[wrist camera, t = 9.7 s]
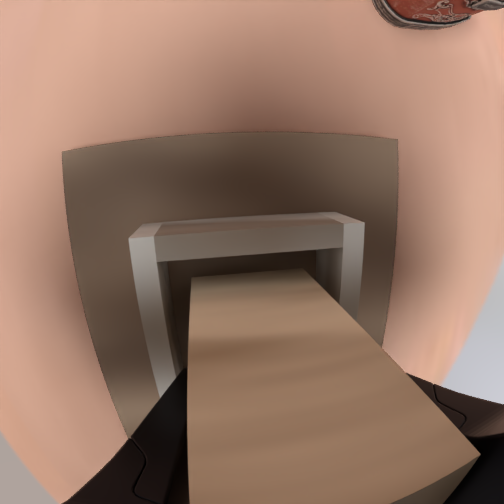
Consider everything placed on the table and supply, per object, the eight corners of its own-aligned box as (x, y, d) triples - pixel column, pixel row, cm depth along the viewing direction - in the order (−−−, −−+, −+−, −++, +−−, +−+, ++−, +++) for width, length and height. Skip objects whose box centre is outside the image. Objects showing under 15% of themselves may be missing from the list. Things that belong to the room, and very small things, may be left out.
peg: (299, 358, 12) (401, 546, 4) (202, 370, 12) (227, 591, 3) (302, 267, 11) (480, 454, 3) (191, 277, 11) (193, 545, 2)
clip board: (348, 446, 18) (367, 480, 15) (151, 473, 16) (149, 512, 13) (385, 140, 13) (433, 137, 10) (71, 152, 11) (31, 149, 8)
